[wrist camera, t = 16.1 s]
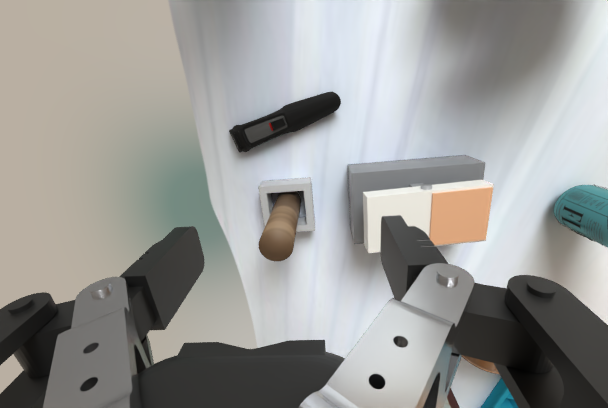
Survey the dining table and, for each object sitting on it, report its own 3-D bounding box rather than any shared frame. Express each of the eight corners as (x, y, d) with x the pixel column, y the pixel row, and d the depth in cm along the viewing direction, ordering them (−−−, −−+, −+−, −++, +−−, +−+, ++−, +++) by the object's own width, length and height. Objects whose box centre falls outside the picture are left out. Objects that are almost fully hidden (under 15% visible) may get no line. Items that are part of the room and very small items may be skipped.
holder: (262, 181, 41) (258, 187, 39) (310, 177, 41) (310, 182, 38) (269, 225, 44) (265, 233, 41) (315, 222, 43) (314, 230, 40)
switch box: (347, 164, 40) (353, 177, 33) (465, 154, 38) (494, 166, 32) (350, 228, 43) (355, 251, 37) (458, 221, 42) (483, 244, 35)
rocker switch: (362, 189, 32) (367, 195, 30) (482, 177, 32) (495, 182, 30) (364, 247, 35) (368, 256, 33) (474, 235, 35) (486, 244, 33)
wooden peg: (275, 189, 42) (256, 232, 29) (299, 187, 41) (290, 229, 28) (278, 212, 43) (261, 262, 30) (302, 210, 43) (294, 260, 30)
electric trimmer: (343, 113, 38) (345, 114, 35) (240, 153, 40) (234, 157, 37) (334, 85, 37) (335, 83, 34) (229, 128, 39) (221, 130, 36)
